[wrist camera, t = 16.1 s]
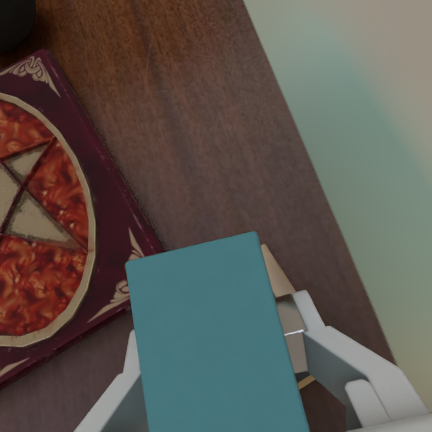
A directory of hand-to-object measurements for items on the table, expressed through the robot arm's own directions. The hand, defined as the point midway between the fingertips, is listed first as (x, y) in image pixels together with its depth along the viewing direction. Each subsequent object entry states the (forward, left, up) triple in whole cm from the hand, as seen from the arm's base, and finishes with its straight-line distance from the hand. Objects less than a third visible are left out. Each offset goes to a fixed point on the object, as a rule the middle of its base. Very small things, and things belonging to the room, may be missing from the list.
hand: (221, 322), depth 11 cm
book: (+13, -19, -18) cm, 30 cm away
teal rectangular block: (0, +1, -5) cm, 5 cm away
